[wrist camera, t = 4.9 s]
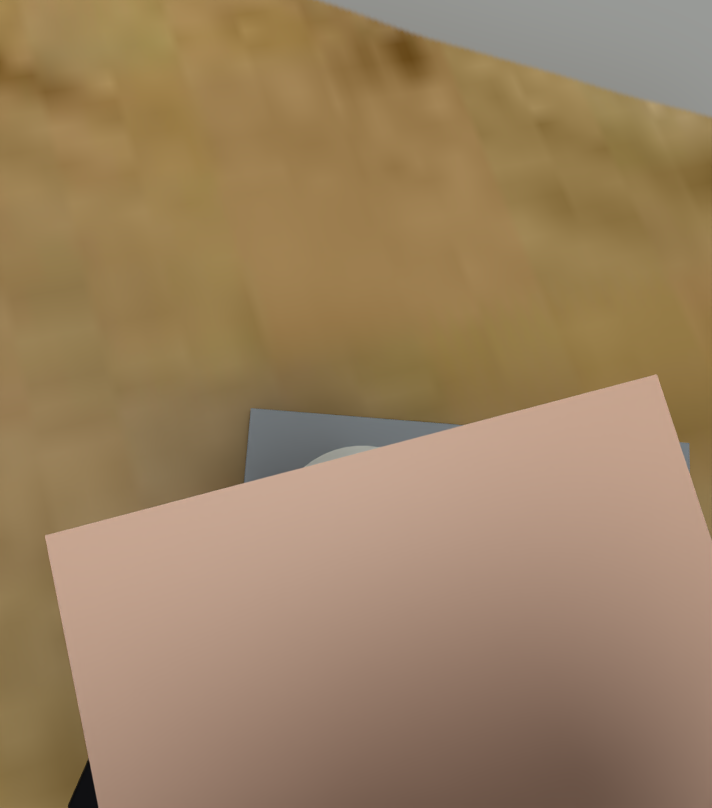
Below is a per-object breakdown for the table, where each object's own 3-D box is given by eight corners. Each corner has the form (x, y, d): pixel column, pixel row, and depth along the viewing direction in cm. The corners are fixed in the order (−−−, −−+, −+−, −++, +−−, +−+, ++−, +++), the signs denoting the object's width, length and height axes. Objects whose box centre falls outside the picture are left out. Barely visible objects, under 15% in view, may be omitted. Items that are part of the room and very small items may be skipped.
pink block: (442, 622, 16) (863, 1000, 4) (265, 680, 15) (205, 1352, 4) (394, 448, 17) (656, 374, 5) (221, 494, 16) (45, 535, 4)
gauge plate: (677, 663, 24) (754, 701, 20) (229, 654, 21) (218, 695, 18) (673, 444, 25) (744, 439, 21) (252, 410, 23) (246, 398, 19)
